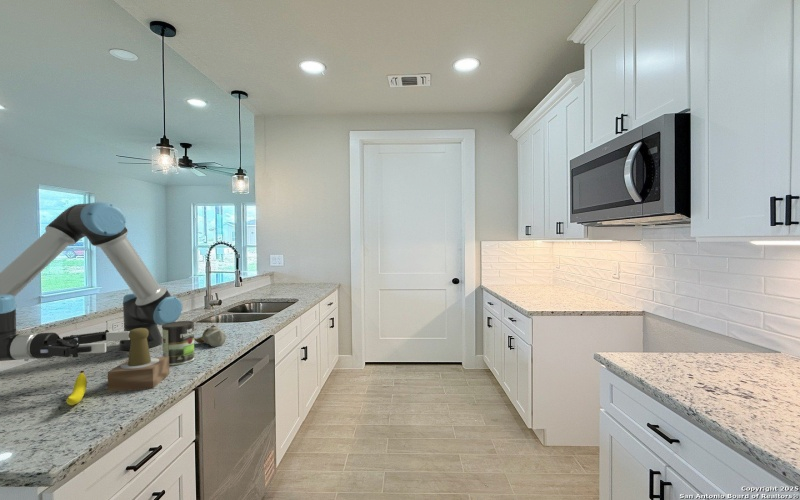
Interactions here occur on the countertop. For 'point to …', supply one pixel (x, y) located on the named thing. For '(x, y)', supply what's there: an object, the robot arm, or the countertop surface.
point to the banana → (78, 390)
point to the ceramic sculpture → (212, 337)
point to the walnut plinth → (138, 375)
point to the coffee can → (178, 342)
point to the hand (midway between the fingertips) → (118, 341)
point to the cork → (139, 347)
